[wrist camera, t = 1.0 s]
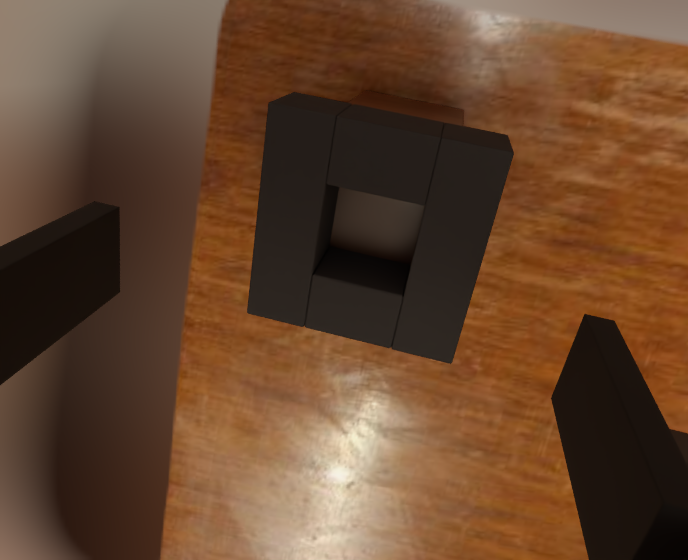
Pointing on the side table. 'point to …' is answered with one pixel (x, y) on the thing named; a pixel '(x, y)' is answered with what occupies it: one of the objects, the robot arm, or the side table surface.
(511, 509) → the side table surface
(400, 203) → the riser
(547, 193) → the side table surface
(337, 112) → the dark square frame
